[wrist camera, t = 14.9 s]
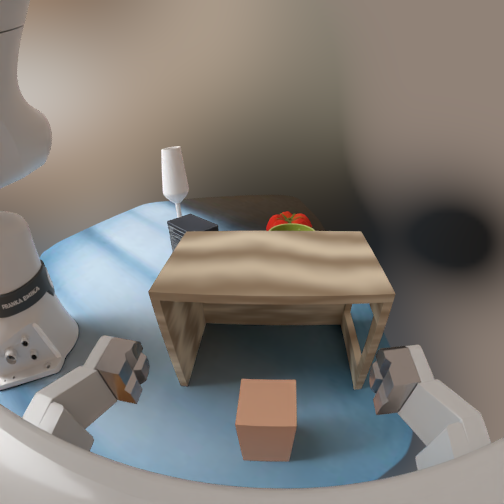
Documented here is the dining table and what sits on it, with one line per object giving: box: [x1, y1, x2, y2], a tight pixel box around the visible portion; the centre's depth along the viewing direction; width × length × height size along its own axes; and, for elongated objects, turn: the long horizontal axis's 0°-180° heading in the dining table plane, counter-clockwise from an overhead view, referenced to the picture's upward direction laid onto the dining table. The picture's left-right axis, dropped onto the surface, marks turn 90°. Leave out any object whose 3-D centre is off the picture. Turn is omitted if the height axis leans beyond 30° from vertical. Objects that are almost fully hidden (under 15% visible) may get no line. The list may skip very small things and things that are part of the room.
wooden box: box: [149, 231, 395, 390], centre depth 36 cm, size 14×24×16 cm, turn 85°
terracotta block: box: [235, 379, 297, 461], centre depth 24 cm, size 5×5×10 cm
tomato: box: [266, 211, 312, 231], centre depth 67 cm, size 11×11×8 cm
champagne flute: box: [161, 146, 189, 218], centre depth 69 cm, size 7×7×24 cm
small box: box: [167, 214, 218, 251], centre depth 59 cm, size 11×6×10 cm, turn 44°
